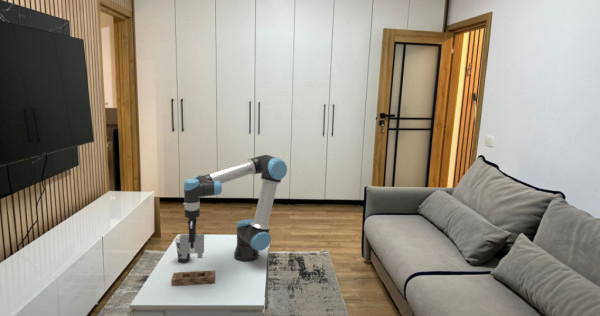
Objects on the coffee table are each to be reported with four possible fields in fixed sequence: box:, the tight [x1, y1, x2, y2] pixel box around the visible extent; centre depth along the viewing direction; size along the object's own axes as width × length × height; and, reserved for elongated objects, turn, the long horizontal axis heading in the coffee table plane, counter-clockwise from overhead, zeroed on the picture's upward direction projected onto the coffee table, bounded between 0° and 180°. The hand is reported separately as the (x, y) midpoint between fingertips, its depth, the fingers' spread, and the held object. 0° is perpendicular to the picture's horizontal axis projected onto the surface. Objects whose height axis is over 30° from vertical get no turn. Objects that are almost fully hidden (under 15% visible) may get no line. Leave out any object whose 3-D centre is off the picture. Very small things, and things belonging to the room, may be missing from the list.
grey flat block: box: [179, 233, 205, 259], centre depth 211 cm, size 12×4×12 cm, turn 99°
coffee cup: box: [174, 233, 191, 264], centre depth 237 cm, size 10×10×15 cm
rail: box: [170, 270, 216, 287], centre depth 214 cm, size 22×8×4 cm, turn 100°
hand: (192, 251), depth 211 cm, fingers closed on grey flat block, 4 cm apart
